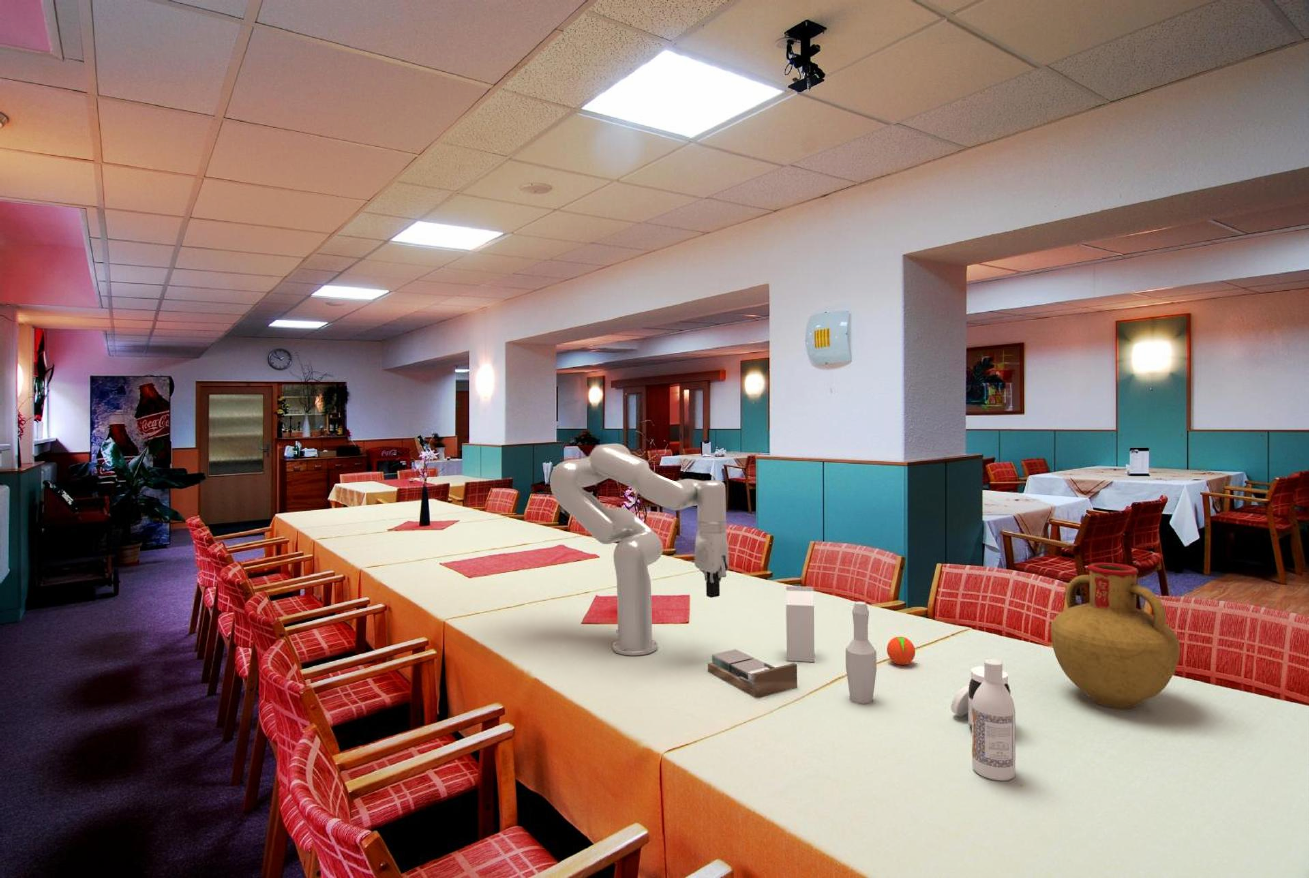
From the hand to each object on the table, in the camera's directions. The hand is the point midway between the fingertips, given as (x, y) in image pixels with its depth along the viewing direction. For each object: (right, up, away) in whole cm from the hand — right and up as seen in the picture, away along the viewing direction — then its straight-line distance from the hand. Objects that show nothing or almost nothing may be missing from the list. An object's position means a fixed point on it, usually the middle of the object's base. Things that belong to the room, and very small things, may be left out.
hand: (713, 596), depth 182 cm
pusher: (+11, -17, -18) cm, 27 cm away
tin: (+5, -18, -6) cm, 19 cm away
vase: (+86, -17, -30) cm, 93 cm away
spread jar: (+52, -18, -40) cm, 68 cm away
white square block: (+9, -18, -13) cm, 24 cm away
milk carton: (+23, -17, +1) cm, 29 cm away
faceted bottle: (+31, -18, -27) cm, 45 cm away
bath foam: (+45, -18, -59) cm, 77 cm away
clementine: (+48, -17, -5) cm, 51 cm away
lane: (+8, -17, -13) cm, 23 cm away
